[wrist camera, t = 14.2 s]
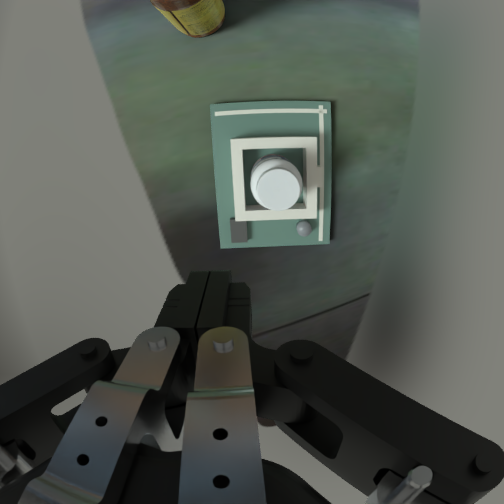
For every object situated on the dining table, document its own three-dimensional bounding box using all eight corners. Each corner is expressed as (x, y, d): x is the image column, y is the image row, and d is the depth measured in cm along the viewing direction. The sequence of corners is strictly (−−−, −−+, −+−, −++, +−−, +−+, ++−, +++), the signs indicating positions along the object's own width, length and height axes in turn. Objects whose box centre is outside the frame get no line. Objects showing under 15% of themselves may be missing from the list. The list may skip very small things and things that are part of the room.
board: (211, 105, 33) (206, 103, 30) (328, 102, 33) (336, 100, 29) (221, 245, 40) (218, 256, 37) (327, 241, 40) (333, 251, 37)
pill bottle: (300, 189, 36) (314, 209, 28) (259, 202, 37) (260, 225, 29) (287, 148, 34) (298, 155, 26) (244, 161, 35) (242, 172, 27)
